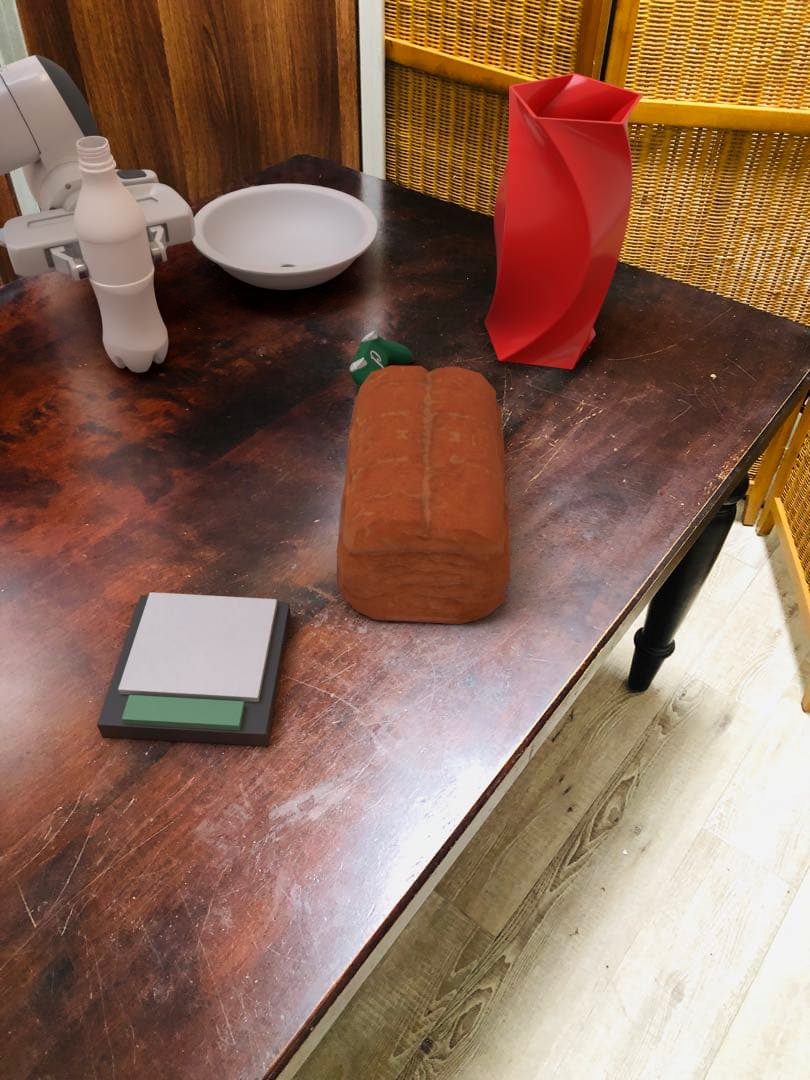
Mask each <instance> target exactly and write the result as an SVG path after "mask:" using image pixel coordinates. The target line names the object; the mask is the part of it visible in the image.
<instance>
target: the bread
mask: <svg viewBox="0 0 810 1080" xmlns="http://www.w3.org/2000/svg"><path fill="white" fill-rule="evenodd" d="M350 420H351V421H350V425H349V430H348V436H347V446H346V456H345V457H346V459H345V471H344V473H345V474H344V484H343V489H342V495H341V500H340V511H339V512H340V513H339V523H338V524H339V525H338V538H337V545H336V586H337V588H338V589H339V591H340V593H341V594H342V596H343V598H344V599H345V600H346V601H347V602H348V603H349V605H350V606H351V607H352V608H353V610H354V611H355V612H358V613H359V614H362V615H364V616H366V617H369V618H371V619H373V620H376V621H396V622H415V623H416V622H417V623H435V624H436V623H437V624H439V623H440V624H454V625H455V624H456V625H462V624H466V623H469V622H473V621H476V620H479V619H483V618H486V617H488V616H489V615H490V614H491V613H492V612H493V611H494V610H496V608H497V607H499V606H500V605H501V604H502V603H503V602H505V596H506V588H507V587H508V584H509V583H510V580H511V528H510V526H511V524H510V509H509V501H508V500H509V499H508V491H507V484H506V483H507V482H506V471H505V470H506V454H505V453H506V452H505V439H504V431H503V430H504V429H503V419H502V409H501V407H500V405H499V404H498V402H497V390H496V389H495V388H494V387H493V386H492V385H491V383H490V382H488V379H486V378H485V377H484V375H483V374H482V373H481V372H479V371H474V370H471V369H467V368H463V367H459V366H455V365H454V366H445V367H437V368H435V369H433V370H431V371H428V370H427V369H426V368H425V367H423V365H393V364H392V365H387V367H385V368H382V369H380V370H377V371H374V372H371V373H370V375H369V376H368V377H367V379H366V380H365V381H364V383H363V384H362V385H361V387H360V386H359V389H358V393H357V396H356V397H355V399H354V402H353V409H352V414H351V418H350Z"/></svg>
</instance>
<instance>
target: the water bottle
mask: <svg viewBox="0 0 810 1080" xmlns="http://www.w3.org/2000/svg"><path fill="white" fill-rule="evenodd" d="M76 146H77V151H78V155H79V165H78V167H79V170H80V171H81V172H82V176H83V181H82V187H81V191H80V194H79V197H78V200H77V204H76V208H75V213H74V229H75V233H76V235H77V236H78V240H79V244H80V248H81V252H82V256H83V260H84V262H85V264H86V267H87V273H88V275H89V279H88V280H89V282H90V285H91V287H92V289H93V292H94V294H95V298H96V300H97V304H98V308H99V311H100V316H101V324H102V343H103V347H104V349H105V353H106V354H107V355H108V357H109V359H110V360H111V362H112V363H113V365H115V366H116V367H117V368H119V369H124V368H127V369H129V370H130V371H131V372H133V373H139V374H140V373H146V372H147V371H149V369H150V368H151V366H152V364H153V362H154V363H155V364H158V365H160V364H162V363H163V362H164V361H165V359H166V357H167V355H168V350H169V349H168V348H169V335H168V329H167V326H166V325H165V322H164V321H163V318H162V315H161V312H160V310H159V307H158V303H157V299H156V294H155V293H156V292H155V286H154V276H155V275H154V274H155V265H154V263H153V261H152V256H151V251H150V246H149V241H148V236H147V231H146V220H145V216H144V214H143V212H142V210H141V208H140V206H139V205H138V203H137V202H136V200H135V199H134V198H133V196H132V195H131V194H130V192H129V191H128V190H127V189H126V188H125V186H124V185H123V184H122V183H121V181H120V180H119V178H118V176H117V174H116V171H115V169H116V168H117V163H116V160H115V159H114V156H113V155H112V154H111V147H110V143H109V140H108V139H107V138H106V137H104V136H100V135H99V136H89V137H84V138H82V139H79V140H78V141H77V145H76Z"/></svg>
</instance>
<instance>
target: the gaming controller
mask: <svg viewBox="0 0 810 1080" xmlns="http://www.w3.org/2000/svg"><path fill="white" fill-rule="evenodd" d="M376 332H377V331H376V330H373V331H371V332H368V334H366V335H364V337H363V338H362V339H361V342H360V343H359V346H358V348H357V350H356V352H355V355H354V357H353V360H352V362H351V365H350V367H349V376H350V377H351V378H352V380H353V382H354V384H355V385H356V386H359V388H360V387H361V385H362V384H363V383H364V381H365V380H366V379H367V377H368V376H369V375H370V373H371V372H374V371H377V370H380V369H382V368H385V367H388V364H394V365H400V366H406V365H409V364H411V363H412V361H413V358H414V355H413V353H412V351H411V350H410V348H408V347H407V346H405V345H404V344H401V343H399V342H396V341H393V340H389V339H387V338H383V337H382V336H380V335H378V333H376Z"/></svg>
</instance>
